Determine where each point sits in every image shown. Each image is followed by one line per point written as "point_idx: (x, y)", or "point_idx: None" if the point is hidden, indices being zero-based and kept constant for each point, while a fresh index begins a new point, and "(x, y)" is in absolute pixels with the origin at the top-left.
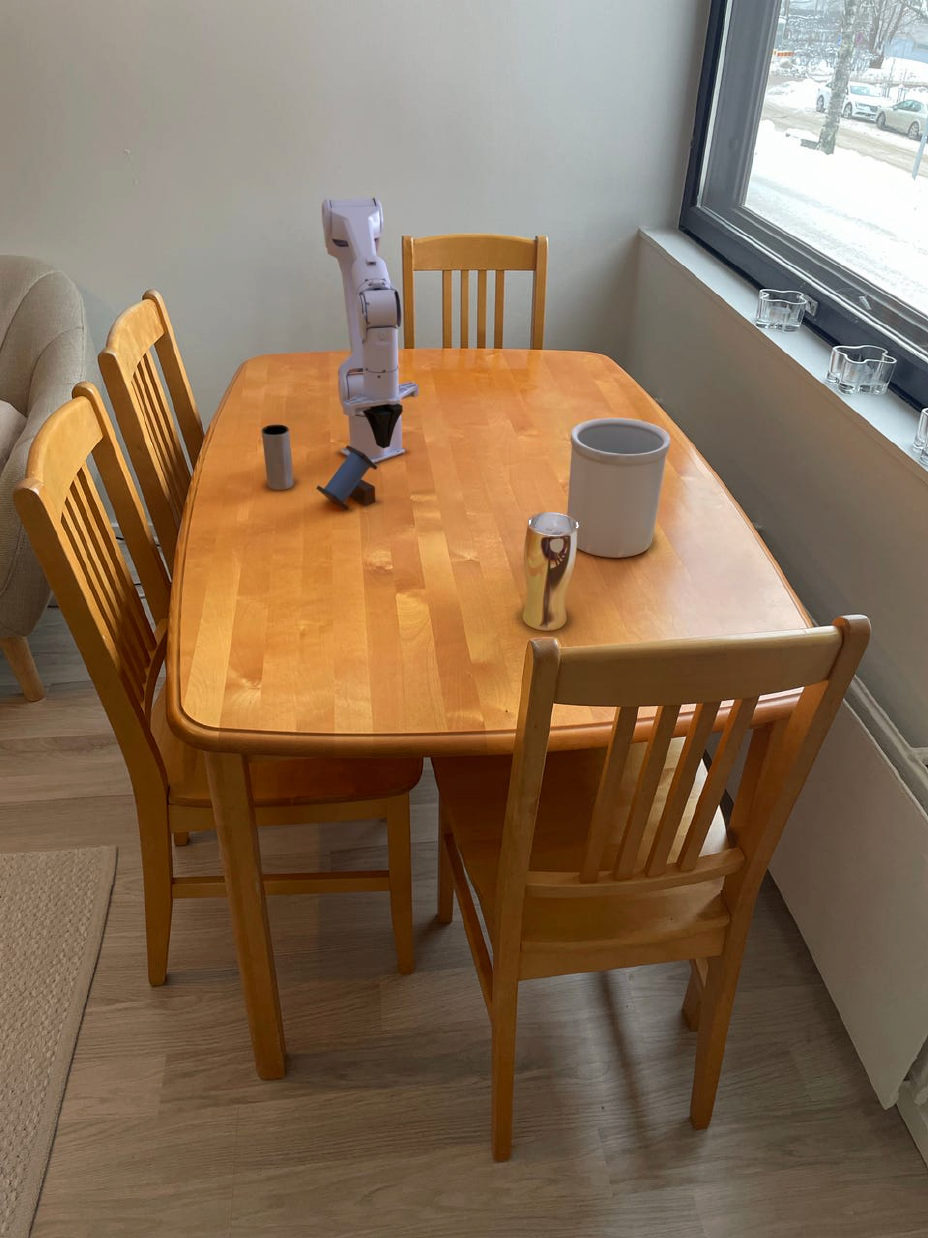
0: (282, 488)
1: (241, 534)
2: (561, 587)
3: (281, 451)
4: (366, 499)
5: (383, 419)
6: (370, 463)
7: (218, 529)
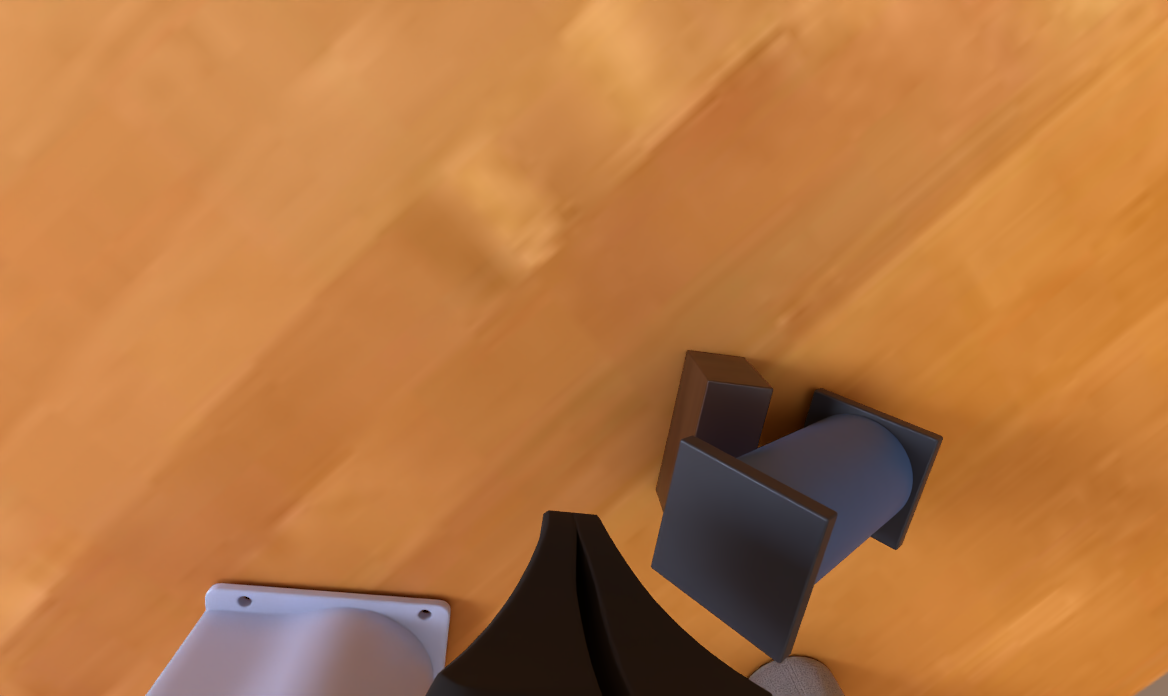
0: (823, 666)
1: (1164, 527)
2: None
3: None
4: (746, 366)
5: (711, 675)
6: (743, 465)
7: (1162, 599)
